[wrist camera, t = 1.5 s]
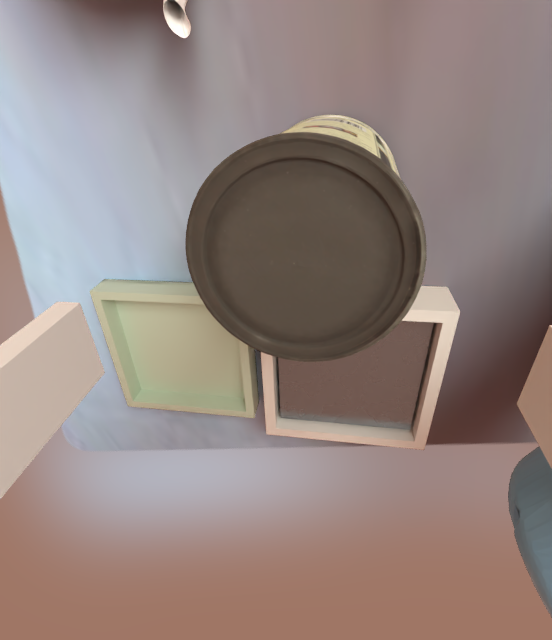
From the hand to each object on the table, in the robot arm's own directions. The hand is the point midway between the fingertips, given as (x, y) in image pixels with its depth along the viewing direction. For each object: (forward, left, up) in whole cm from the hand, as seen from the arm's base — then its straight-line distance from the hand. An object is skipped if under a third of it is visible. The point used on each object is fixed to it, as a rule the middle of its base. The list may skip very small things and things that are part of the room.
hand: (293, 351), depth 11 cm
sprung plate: (-3, +15, -18) cm, 24 cm away
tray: (+13, +15, -20) cm, 28 cm away
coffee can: (0, 0, -20) cm, 20 cm away
